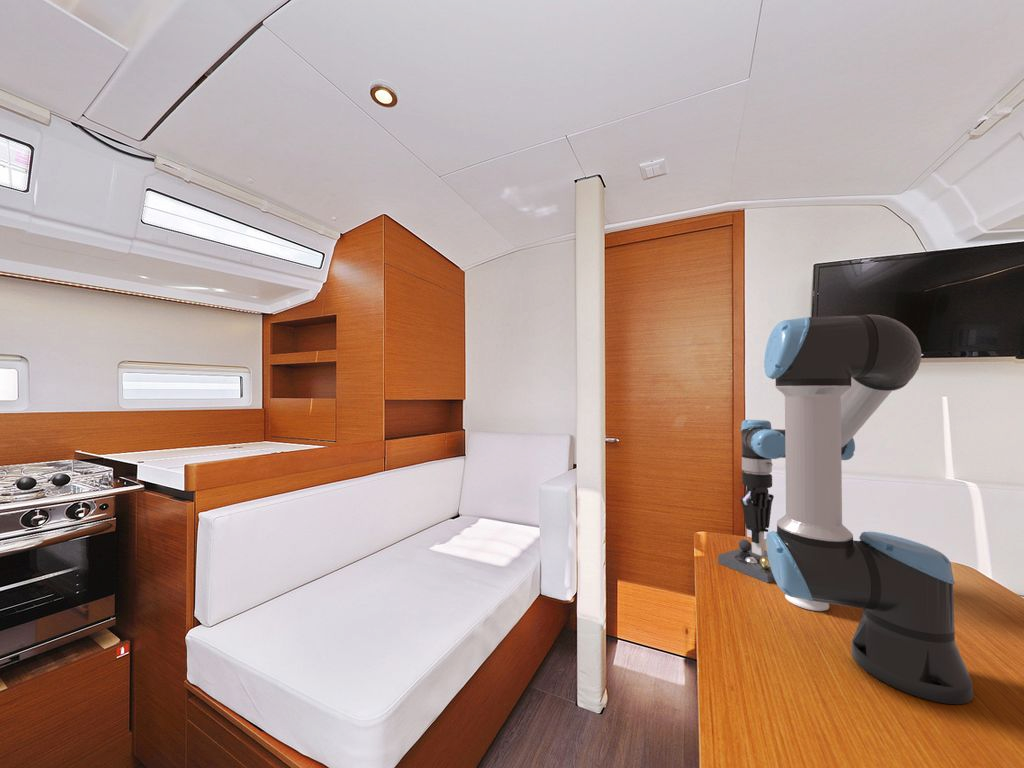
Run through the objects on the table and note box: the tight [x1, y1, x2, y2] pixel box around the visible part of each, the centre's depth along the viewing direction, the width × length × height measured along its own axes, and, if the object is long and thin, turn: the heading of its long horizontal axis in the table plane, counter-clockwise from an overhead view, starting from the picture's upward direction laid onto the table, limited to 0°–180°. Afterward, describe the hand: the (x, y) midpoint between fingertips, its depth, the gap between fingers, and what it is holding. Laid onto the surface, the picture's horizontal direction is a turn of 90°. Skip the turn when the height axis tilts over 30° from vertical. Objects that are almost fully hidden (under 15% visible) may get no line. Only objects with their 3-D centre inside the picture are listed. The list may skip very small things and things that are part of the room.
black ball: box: [738, 539, 752, 552], centre depth 118 cm, size 3×3×3 cm
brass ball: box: [760, 557, 771, 569], centre depth 106 cm, size 3×3×3 cm
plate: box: [717, 548, 776, 584], centre depth 113 cm, size 16×14×2 cm
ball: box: [745, 557, 758, 564], centre depth 111 cm, size 3×3×3 cm
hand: (758, 553), depth 113 cm, fingers closed
